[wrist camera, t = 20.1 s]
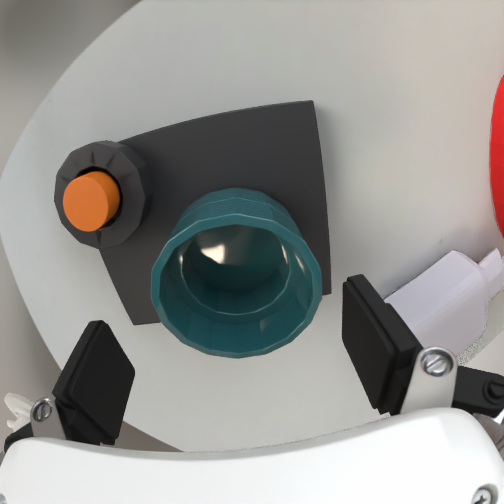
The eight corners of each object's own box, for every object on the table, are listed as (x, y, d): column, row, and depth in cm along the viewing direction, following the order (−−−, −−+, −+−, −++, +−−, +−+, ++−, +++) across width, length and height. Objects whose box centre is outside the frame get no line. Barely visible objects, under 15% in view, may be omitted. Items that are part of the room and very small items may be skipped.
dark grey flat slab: (129, 315, 19) (117, 341, 17) (70, 156, 14) (43, 165, 11) (326, 283, 19) (339, 308, 16) (306, 96, 13) (321, 90, 11)
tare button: (86, 226, 13) (73, 237, 12) (71, 179, 12) (56, 186, 11) (127, 214, 13) (115, 225, 12) (112, 164, 12) (99, 169, 11)
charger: (495, 279, 21) (390, 360, 24) (490, 209, 17) (364, 304, 20) (521, 303, 16) (408, 394, 19) (526, 229, 13) (389, 345, 16)
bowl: (192, 307, 17) (182, 365, 13) (158, 201, 14) (126, 236, 10) (303, 288, 17) (323, 343, 13) (289, 175, 14) (315, 199, 10)
